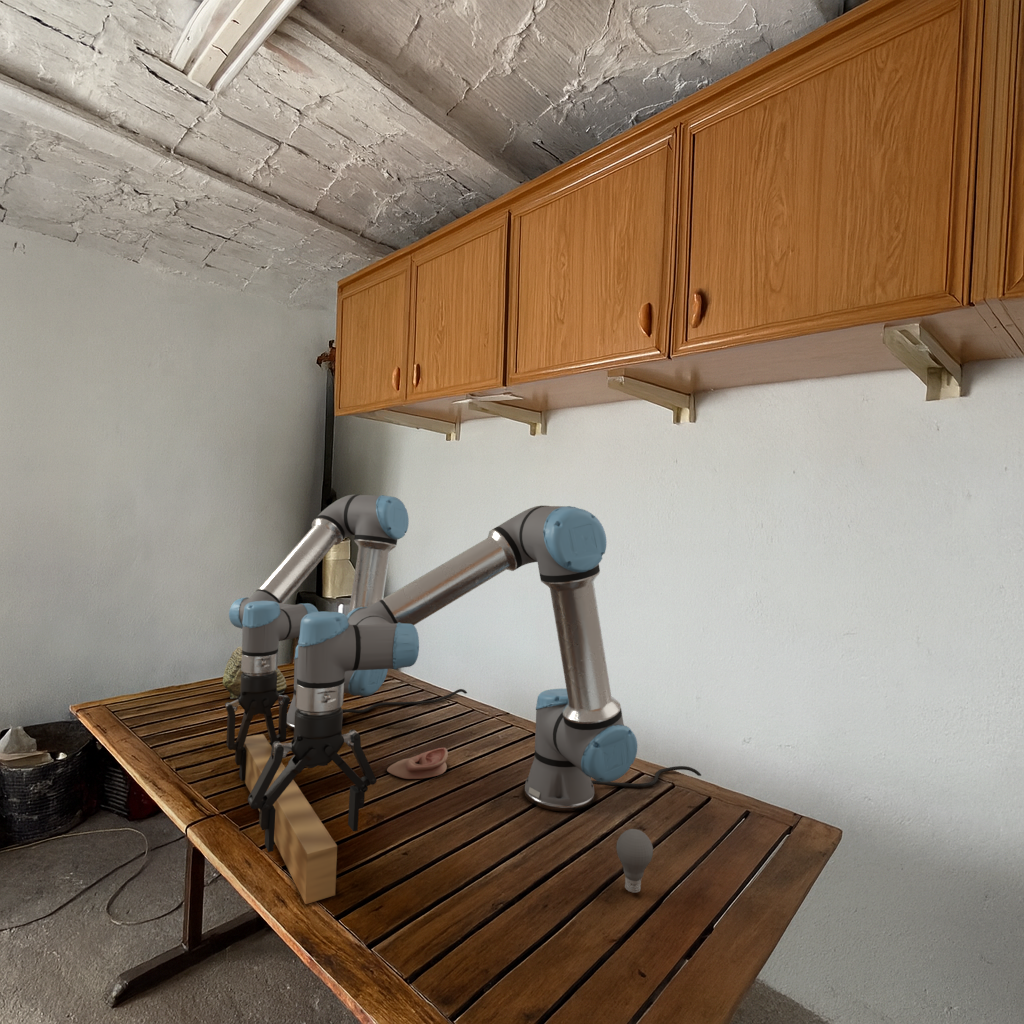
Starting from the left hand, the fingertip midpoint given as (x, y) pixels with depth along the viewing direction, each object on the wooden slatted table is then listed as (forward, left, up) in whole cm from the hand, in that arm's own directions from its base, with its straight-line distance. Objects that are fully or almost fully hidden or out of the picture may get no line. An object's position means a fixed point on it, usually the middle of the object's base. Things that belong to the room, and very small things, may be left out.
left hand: (255, 775), depth 141 cm
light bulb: (-21, +83, -1) cm, 85 cm away
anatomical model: (-28, +22, -1) cm, 36 cm away
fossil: (-30, -54, -1) cm, 62 cm away
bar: (+7, +21, -1) cm, 22 cm away
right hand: (+14, +42, +7) cm, 45 cm away
